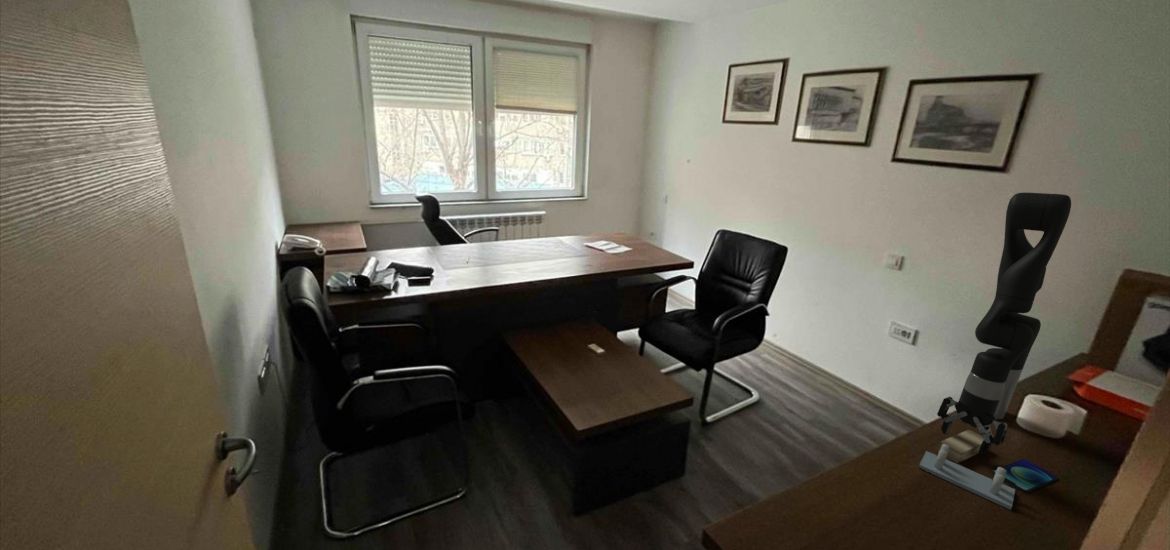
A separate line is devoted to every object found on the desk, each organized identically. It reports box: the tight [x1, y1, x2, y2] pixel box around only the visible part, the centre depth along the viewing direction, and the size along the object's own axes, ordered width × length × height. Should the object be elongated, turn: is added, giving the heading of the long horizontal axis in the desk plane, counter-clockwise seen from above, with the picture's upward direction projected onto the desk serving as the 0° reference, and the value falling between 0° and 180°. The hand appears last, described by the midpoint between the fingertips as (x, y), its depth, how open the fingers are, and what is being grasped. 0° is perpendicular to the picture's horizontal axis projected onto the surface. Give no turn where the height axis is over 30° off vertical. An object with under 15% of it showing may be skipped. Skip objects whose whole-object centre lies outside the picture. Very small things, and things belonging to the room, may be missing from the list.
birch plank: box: [937, 429, 984, 464], centre depth 124 cm, size 14×5×4 cm, turn 115°
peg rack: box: [918, 444, 1016, 511], centre depth 113 cm, size 18×8×6 cm, turn 44°
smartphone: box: [991, 458, 1059, 494], centre depth 116 cm, size 8×1×15 cm
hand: (963, 442), depth 124 cm, fingers open, 8 cm apart
